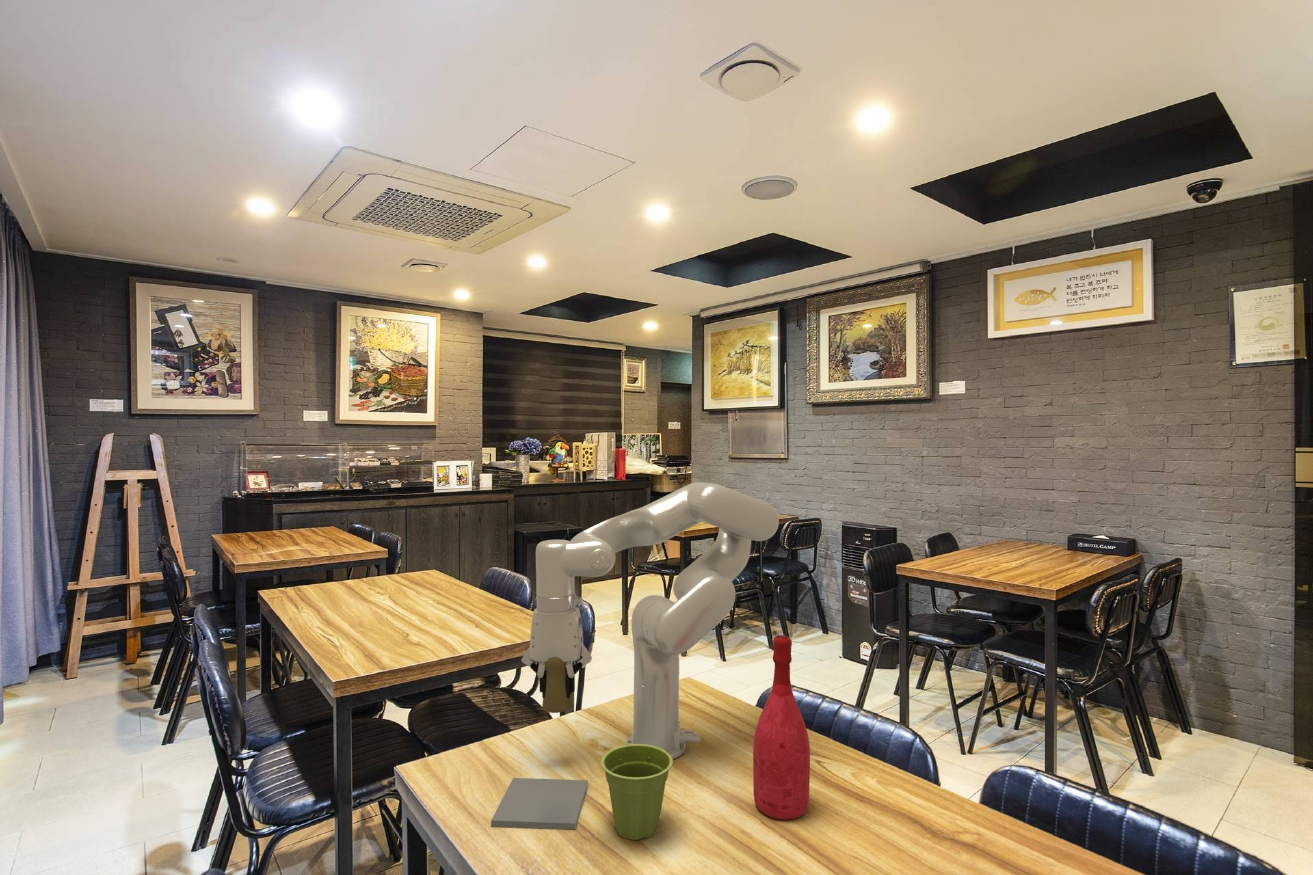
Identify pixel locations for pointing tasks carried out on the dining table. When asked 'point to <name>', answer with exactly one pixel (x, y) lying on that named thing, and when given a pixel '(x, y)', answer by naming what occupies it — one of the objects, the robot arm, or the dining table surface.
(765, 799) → the wine bottle
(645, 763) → the plant pot
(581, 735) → the dining table surface
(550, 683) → the brown pawn
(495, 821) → the tile
